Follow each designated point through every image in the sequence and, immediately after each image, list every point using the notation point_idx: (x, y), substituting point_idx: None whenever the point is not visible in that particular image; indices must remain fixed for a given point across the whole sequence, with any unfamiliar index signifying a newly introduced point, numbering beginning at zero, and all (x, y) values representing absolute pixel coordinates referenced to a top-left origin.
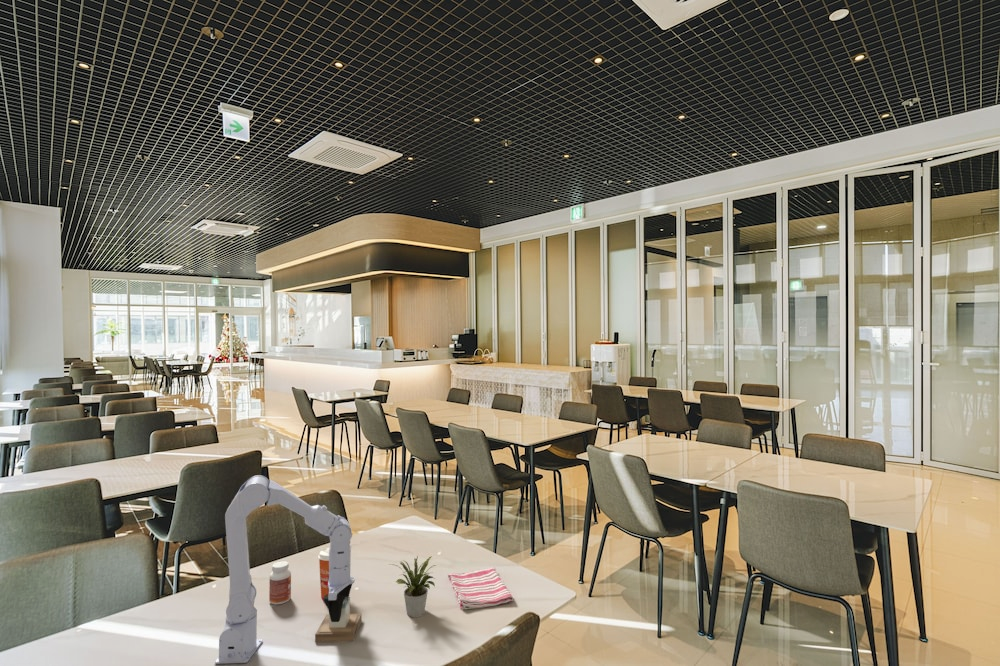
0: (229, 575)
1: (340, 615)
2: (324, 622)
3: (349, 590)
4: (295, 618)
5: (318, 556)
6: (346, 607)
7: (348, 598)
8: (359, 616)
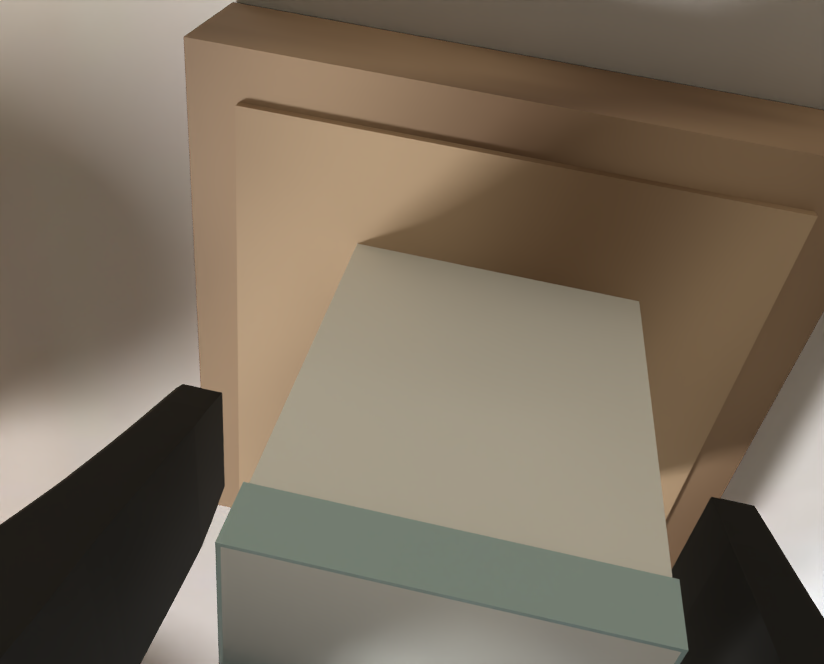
0: None
1: (789, 588)
2: None
3: (15, 641)
4: (174, 635)
5: None
6: (580, 537)
7: (305, 578)
8: (286, 72)
